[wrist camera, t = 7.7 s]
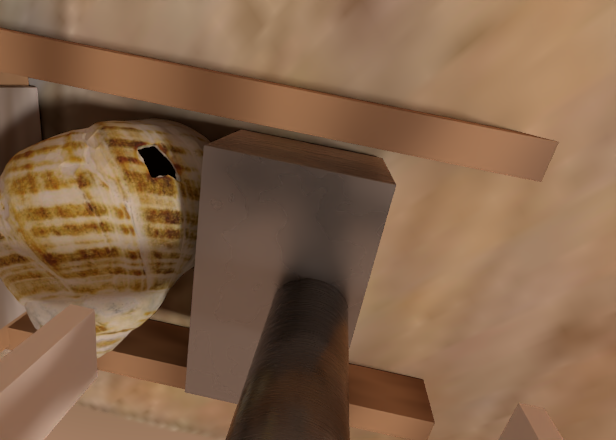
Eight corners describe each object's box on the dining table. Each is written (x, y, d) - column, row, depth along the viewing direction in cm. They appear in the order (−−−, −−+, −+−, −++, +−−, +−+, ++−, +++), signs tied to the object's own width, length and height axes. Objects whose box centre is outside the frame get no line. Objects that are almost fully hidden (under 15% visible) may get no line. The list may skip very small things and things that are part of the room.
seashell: (227, 90, 16) (149, 274, 10) (249, 227, 24) (213, 386, 17) (12, 79, 17) (-207, 251, 10) (98, 218, 24) (5, 371, 17)
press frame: (-8, 305, 23) (-119, 374, 18) (-56, 16, 17) (-251, -18, 12) (415, 398, 22) (438, 502, 17) (522, 132, 16) (613, 156, 11)
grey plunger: (219, 326, 22) (-8, 757, 8) (241, 129, 17) (-181, 305, 3) (331, 351, 22) (305, 837, 8) (382, 158, 17) (540, 467, 3)
